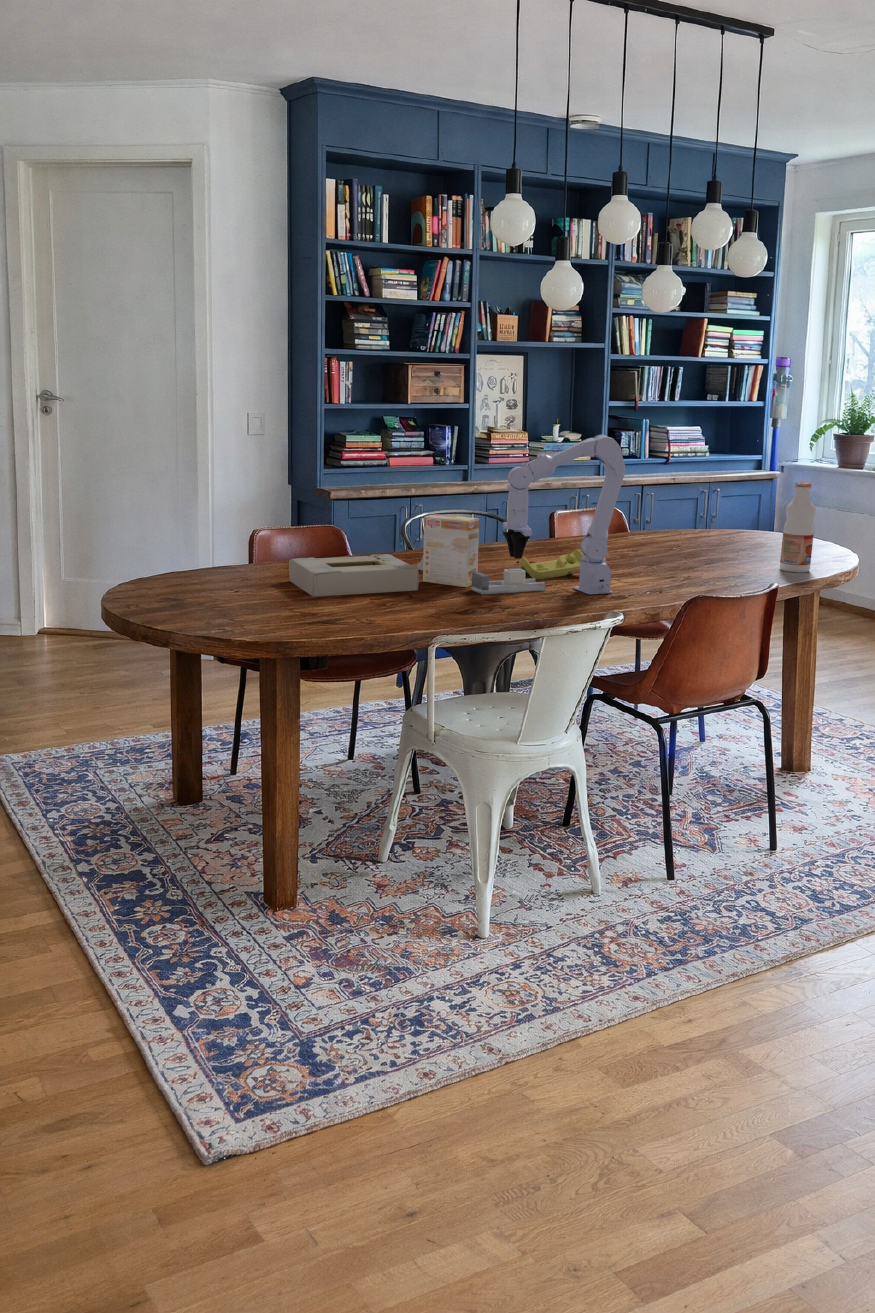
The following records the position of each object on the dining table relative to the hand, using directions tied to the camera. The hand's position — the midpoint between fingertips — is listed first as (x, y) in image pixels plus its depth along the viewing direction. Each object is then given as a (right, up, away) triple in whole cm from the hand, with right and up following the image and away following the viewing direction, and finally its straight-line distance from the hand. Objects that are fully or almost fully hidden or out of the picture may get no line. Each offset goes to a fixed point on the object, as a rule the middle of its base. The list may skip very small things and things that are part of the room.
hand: (515, 557), depth 336 cm
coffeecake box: (-19, -7, +10) cm, 22 cm away
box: (-47, -9, +3) cm, 48 cm away
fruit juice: (+93, -1, +43) cm, 102 cm away
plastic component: (+13, -4, +26) cm, 29 cm away
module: (0, -8, +2) cm, 8 cm away
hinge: (-21, -2, +27) cm, 35 cm away
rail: (-2, -9, +2) cm, 10 cm away
